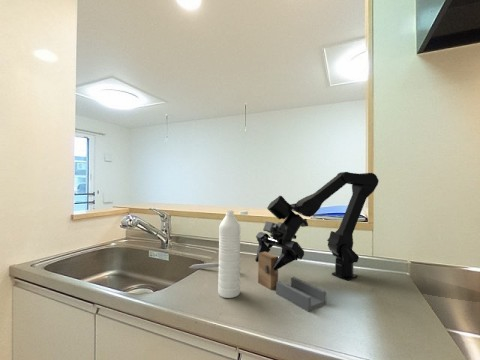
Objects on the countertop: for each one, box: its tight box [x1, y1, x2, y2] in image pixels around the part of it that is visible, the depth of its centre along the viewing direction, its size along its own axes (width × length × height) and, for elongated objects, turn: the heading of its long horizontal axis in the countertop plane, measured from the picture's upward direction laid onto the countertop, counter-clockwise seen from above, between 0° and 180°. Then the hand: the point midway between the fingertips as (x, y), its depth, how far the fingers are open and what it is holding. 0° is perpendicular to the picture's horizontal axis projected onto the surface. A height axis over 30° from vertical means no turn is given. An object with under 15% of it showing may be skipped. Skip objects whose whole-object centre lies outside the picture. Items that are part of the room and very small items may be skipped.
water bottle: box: [217, 210, 249, 299], centre depth 71 cm, size 9×6×25 cm
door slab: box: [257, 252, 279, 291], centre depth 77 cm, size 4×6×10 cm, turn 34°
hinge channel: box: [275, 276, 327, 312], centre depth 68 cm, size 7×12×4 cm, turn 34°
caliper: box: [188, 261, 219, 270], centre depth 89 cm, size 20×1×6 cm, turn 73°
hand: (264, 265), depth 76 cm, fingers open, 9 cm apart
